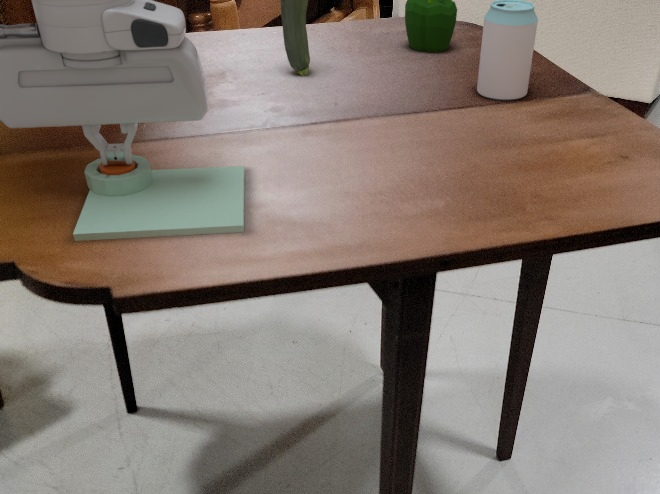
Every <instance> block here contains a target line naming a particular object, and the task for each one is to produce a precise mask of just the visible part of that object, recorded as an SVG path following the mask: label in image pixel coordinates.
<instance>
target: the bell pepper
mask: <svg viewBox="0 0 660 494" xmlns="http://www.w3.org/2000/svg"><path fill="white" fill-rule="evenodd" d="M457 15H458V7H457V5H456V2H455V1H453V0H406V2H405V5H404V25H405V29H406V30H405V31H406V37H407V41H408V45H409V47H410V49H412V50H413V51H416V52H426V53H434V54H436V53H442V52H445V51H447V49H448V48H449V47H450V44H451V41H452V37H453V36H454V35H453V34H454V30H455V27H456V24H457V18H458V17H457Z"/></svg>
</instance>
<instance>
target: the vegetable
mask: <svg viewBox="0 0 660 494" xmlns="http://www.w3.org/2000/svg"><path fill="white" fill-rule="evenodd" d="M308 3H309V0H280V16H281V17H280V18H281V25H282V36H283V45H284V49H285V53H286V57H287V61H288V63H289V66H290V67H291V69H293V70H294V71H295V72H296V74H299V75H300V76H301V77H305V76H308V74H309V71H310V63H311V56H310V55H311V54H310V49H309V39H308V31H307V9H308V5H309V4H308Z"/></svg>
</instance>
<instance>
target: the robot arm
mask: <svg viewBox="0 0 660 494" xmlns="http://www.w3.org/2000/svg"><path fill="white" fill-rule="evenodd" d="M31 3H32V8H33V12H34V16H35V19H36V22H31V23H18V24H10V25H7V24H6V25H5V24H0V122H1V123H3V125H4V126H6V127H8V128H9V129H35V128H55V127H57V128H58V127H79V126H81V129H82V132H83V136H84V137H85V139H86V140H88V142H89V143H90V144H91V145H92V146H93V147H94V149H96V151H98V152H99V156H100V158H101V160H102V164H103V166H110V165H132V162H133V155H134V154H133V149H132V144H133V141H134V139H135V136H136V133H137V131H138V127H139V124H150V123H173V122H198V121H202V120H204V118H205V117H206V115H207V113H208V112H209V109H210V98H209V90H208V85H207V80H206V76H205V72H204V68H203V65H202V61H201V58H200V54H199V51H198V49H197V48H196V46H195V44H194V43H193V41H191V40H190V38H188V37H187V36H186V32H187V23H186V17H185V14H184V12H183V10H182V9H181V8H178V7H176V6H173V5H170V4H166V3H163V2H159V1H157V0H156V1H155V0H31ZM102 125H103V126H105V125H119V127H120V132H121V134H123V135H126V136H125V139H124V142H122V143H121V142H119V143H109V142H108V141H107V140H106V139H105V138H104V137H103V135H102V134H101V133H100V130H101V128H102Z"/></svg>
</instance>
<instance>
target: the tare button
mask: <svg viewBox="0 0 660 494" xmlns="http://www.w3.org/2000/svg"><path fill="white" fill-rule="evenodd" d="M99 169H100V173H101V174H105V175H121V174H125V173H129V172H131V171H133V170H135V169H136V167H135V162H134V161H133V162H132V165H110V166H103V164H102V162H101V163H100V165H99Z"/></svg>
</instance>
